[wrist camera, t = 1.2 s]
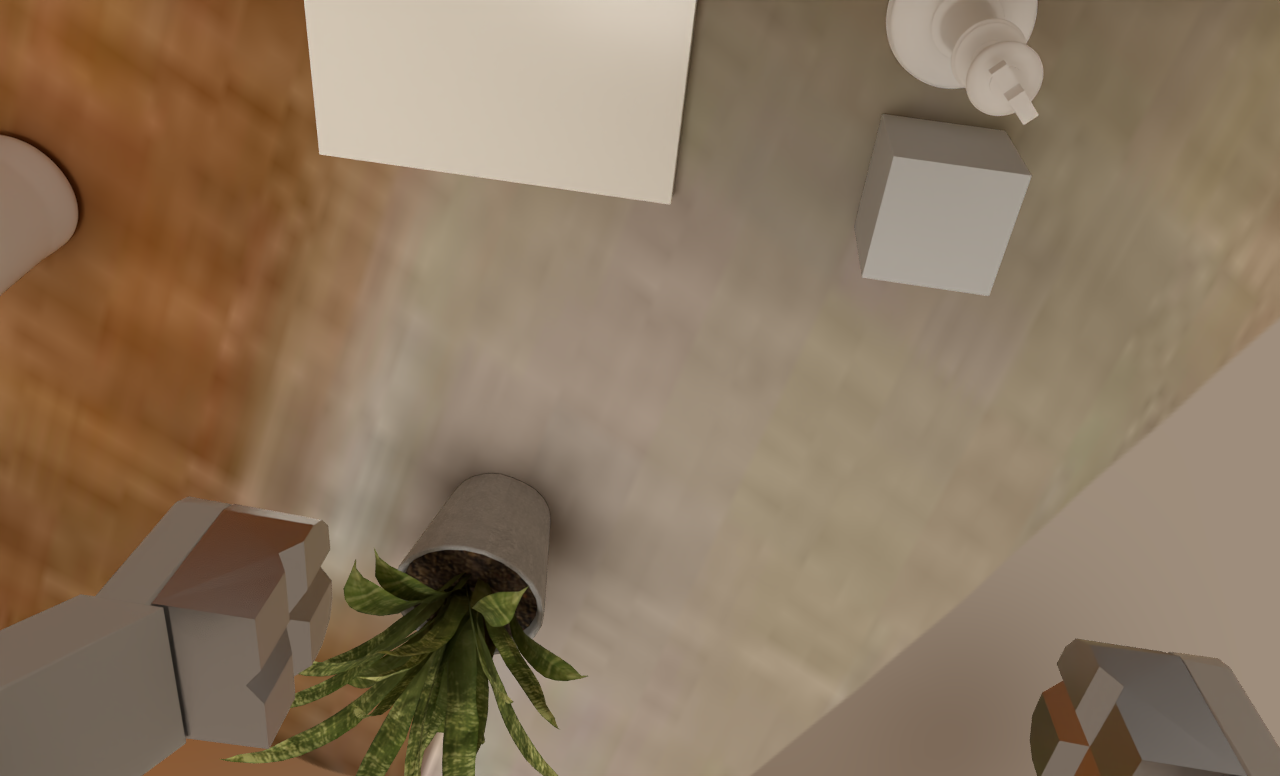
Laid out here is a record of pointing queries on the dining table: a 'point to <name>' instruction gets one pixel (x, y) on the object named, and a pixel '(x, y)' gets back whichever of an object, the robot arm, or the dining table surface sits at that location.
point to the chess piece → (971, 50)
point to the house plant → (446, 635)
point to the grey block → (939, 204)
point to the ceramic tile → (507, 88)
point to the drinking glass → (31, 209)
